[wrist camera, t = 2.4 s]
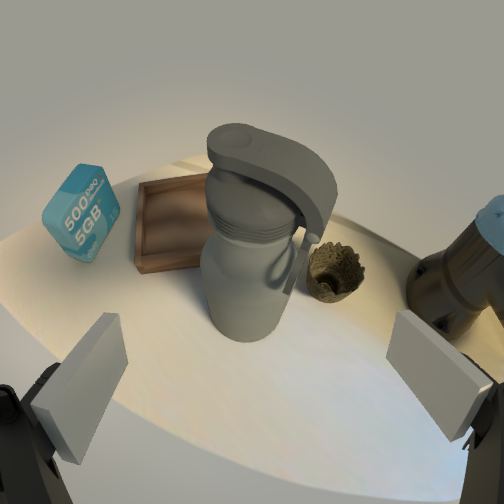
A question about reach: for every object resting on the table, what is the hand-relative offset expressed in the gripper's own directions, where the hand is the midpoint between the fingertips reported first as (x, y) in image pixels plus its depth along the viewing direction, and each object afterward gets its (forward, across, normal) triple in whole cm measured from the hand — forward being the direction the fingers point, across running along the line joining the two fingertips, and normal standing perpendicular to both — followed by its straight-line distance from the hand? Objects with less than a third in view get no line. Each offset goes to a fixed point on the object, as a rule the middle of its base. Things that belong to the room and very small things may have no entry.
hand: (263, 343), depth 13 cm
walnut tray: (+37, -9, 0) cm, 38 cm away
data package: (+36, -25, -2) cm, 44 cm away
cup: (+28, +12, -9) cm, 32 cm away
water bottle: (+26, +1, -11) cm, 29 cm away
